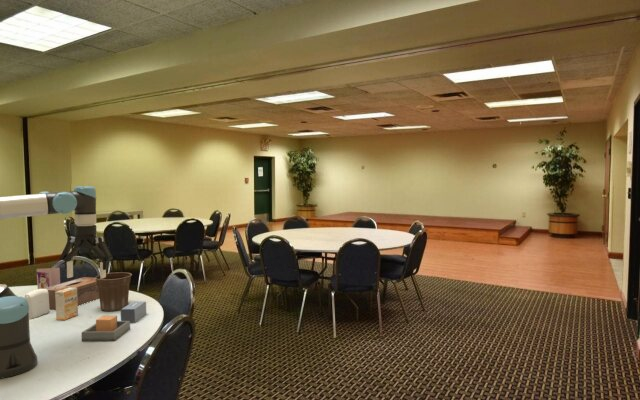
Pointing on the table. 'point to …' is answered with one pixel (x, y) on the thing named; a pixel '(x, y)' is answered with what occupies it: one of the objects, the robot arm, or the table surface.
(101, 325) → the stub
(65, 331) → the table surface
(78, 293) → the tissue box cover
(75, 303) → the supplement box
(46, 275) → the pink box
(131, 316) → the block
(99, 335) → the tray
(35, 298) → the photo printer
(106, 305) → the plant pot
